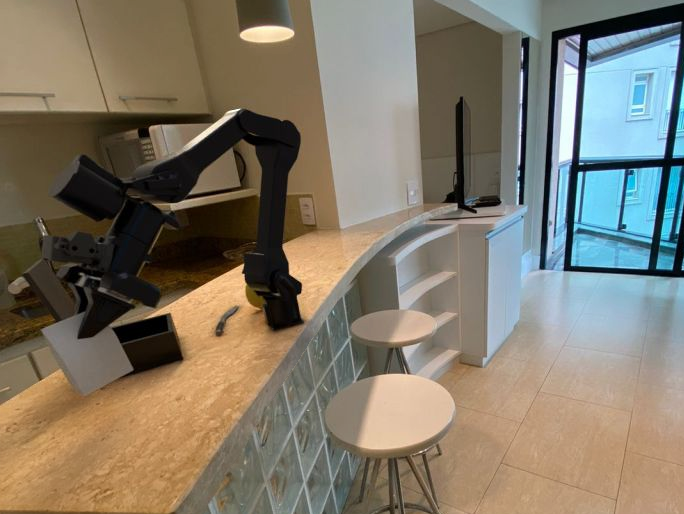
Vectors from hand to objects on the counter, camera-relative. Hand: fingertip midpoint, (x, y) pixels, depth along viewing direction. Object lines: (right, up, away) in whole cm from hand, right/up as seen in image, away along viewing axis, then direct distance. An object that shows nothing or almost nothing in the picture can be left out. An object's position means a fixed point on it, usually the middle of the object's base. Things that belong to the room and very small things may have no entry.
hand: (77, 340), depth 55 cm
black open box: (-4, -5, +21) cm, 22 cm away
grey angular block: (+1, -6, +3) cm, 7 cm away
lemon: (+13, +5, +39) cm, 42 cm away
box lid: (-12, +5, +13) cm, 18 cm away
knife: (+7, +3, +35) cm, 36 cm away
